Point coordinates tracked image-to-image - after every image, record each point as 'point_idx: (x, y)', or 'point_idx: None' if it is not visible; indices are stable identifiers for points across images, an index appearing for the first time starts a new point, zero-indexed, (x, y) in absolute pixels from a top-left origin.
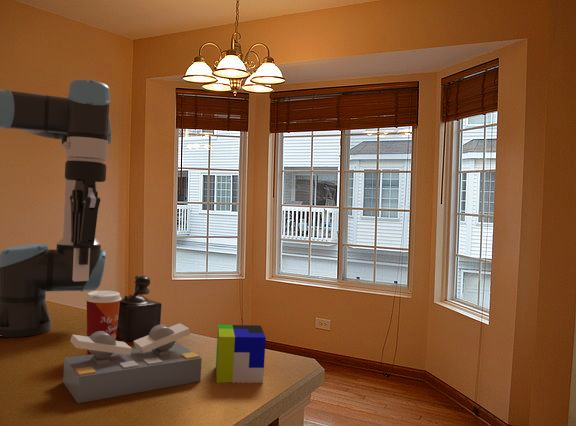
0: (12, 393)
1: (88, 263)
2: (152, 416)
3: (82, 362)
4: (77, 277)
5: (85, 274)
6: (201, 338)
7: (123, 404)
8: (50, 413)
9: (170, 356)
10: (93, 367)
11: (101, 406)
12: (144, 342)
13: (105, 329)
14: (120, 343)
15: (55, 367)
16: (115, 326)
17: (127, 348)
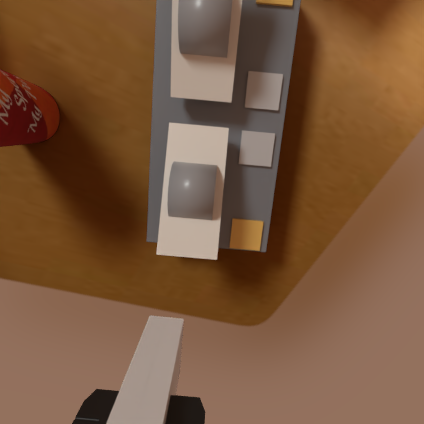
0: (166, 301)
1: (171, 385)
2: (374, 160)
3: None
4: (178, 374)
5: (178, 352)
6: None
7: (303, 179)
8: (270, 278)
9: (251, 33)
10: (230, 213)
11: (290, 211)
12: (210, 82)
13: (22, 112)
14: (191, 142)
15: (73, 215)
16: (7, 78)
17: (227, 139)
